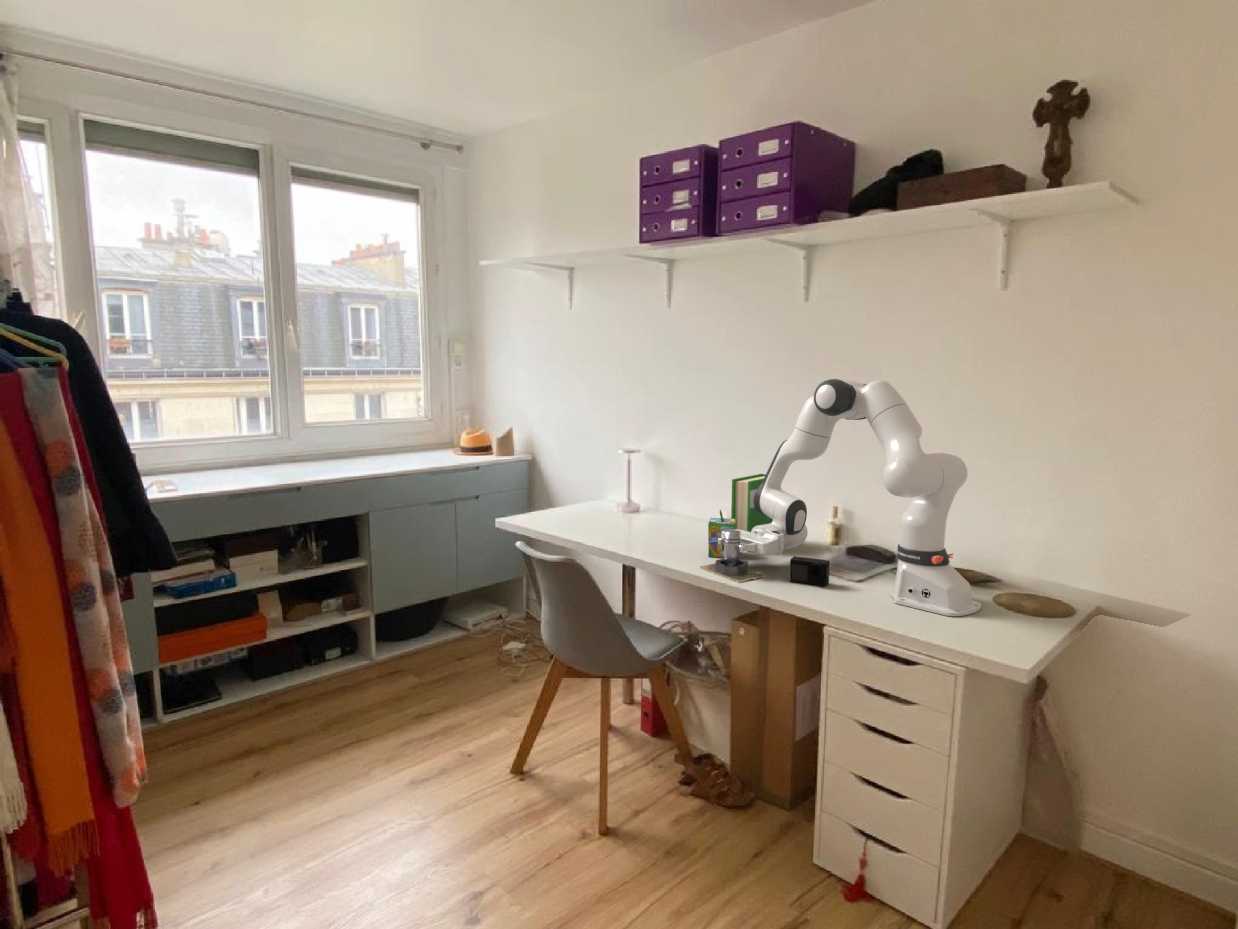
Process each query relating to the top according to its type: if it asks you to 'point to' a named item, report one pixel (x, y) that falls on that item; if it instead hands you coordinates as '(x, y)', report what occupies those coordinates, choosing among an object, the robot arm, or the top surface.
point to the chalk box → (718, 534)
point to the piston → (731, 548)
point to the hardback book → (747, 503)
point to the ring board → (733, 571)
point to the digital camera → (809, 571)
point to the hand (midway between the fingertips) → (729, 545)
